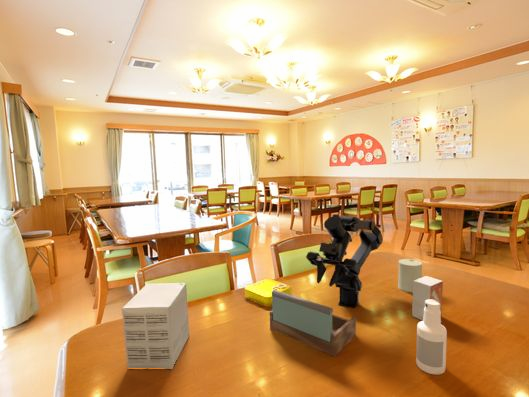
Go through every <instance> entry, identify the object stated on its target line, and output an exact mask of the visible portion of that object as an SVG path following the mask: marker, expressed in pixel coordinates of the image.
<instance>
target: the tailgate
mask: <svg viewBox="0 0 529 397" xmlns="http://www.w3.org/2000/svg"><path fill="white" fill-rule="evenodd" d="M271 294H272V302H273V306H272V310H273V320H275V321H278V322H280V323H283V324H285V325H288V326H290V327H293V328H295V329H298V330H300V331H303V332H305V333H308V334H310V335H313V336H315V337H318V338H321V339H323V340H326V341H328V342H331V341H332V314H333V313H334V308H332V307H329V306H326V305H325V304H320V303H317V302H314V301H311V300H308V299H305V298H301V297H298V296H295V295H289V294H286V293H283V292H280V291H276V290H273V291H272V293H271Z"/></svg>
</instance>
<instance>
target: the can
mask: <svg viewBox="0 0 529 397" xmlns="http://www.w3.org/2000/svg"><path fill="white" fill-rule="evenodd" d="M422 269H423V262H422V261H420V260H417V259H413V258H401V259H399V260H398V283H397V284H398V285H397V288H398V289H399V290H401V291H403V292H405V293H411V294H413V281H414V280H417V279H419V278H422V277H423V276H422V274H423V270H422Z"/></svg>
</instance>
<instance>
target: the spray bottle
mask: <svg viewBox="0 0 529 397" xmlns="http://www.w3.org/2000/svg"><path fill="white" fill-rule="evenodd" d="M441 318H442V315H441V311H440V304H439V303H438V302H436V301H435V300H433V299H427V300H425V308H424V316H423V320H421V321H419V322H418V323H417V324H416V325H417V326H416V356H415V358H416V359H415V362H416V366H417V368H419V369H420V370H421V371H423V372H424V373H427V374H430V375H435V376H436V375H442V374H444V373H445V371H446V366H447V365H446V364H447V363H446V362H447V335H448V334H447V333H448V332H447V328H446V327H445V326H444V325H443V324H441V323H442V319H441Z"/></svg>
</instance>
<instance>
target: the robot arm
mask: <svg viewBox="0 0 529 397" xmlns="http://www.w3.org/2000/svg"><path fill="white" fill-rule="evenodd" d="M323 225H324V228H325V230H326V231H327V233H328V234H329V236H330V237H331V238H332V241H331V242H329V243H327V242H320V245H319V250H318V251H319V252H321V253H322V255H323V256H324V257H323V256H321V255H320V254H319V252H316V251H309V252H307V253H306V256H305V258H306V260H308V262H309V263H310V264H311V265H312V266H316V270H317V271H316V283H317V284H320V283H321V281H322V279H323V277H324V276H325V273H326V271H327V267H326V266H325V265H331V266H334V271H333V273H332V275H331V278H330V281H329V284H328V285H329V286H328V287H333V285H335V287H336V288H339V301H338V303H337V304H338V306H344V307H349V308H356V307H357V305H358V304H359V301H360V292H361V291H362V287H363V286H362V285H363V283H362V281H361V280H360V277H359V275H360V273H361V268H362V267H363V266H364V264H365V262H366V261H367V259H368V257H369V255H370V254H371V252H372V251H376V250H378V249H379V248H380V246H381V245H382V244H383V242H384V241H383V240H384V239H383V238H384V237H383V235H382V231H381V230H380V229H379V228H378V227H377V226H376V223H375V221H373V220H370V219H369V220H368V219H361V218H358V217H357V216H350V215H339V214H335V213H334V214H332V216H330V217H328V218H327V219H326V220H325V221H324V224H323ZM359 230H360V232H359ZM365 230H368V231H365ZM370 231H371V232H370ZM356 232H359V235H358V236H359V238H360V242H361V243H360V245H358V246H359V247H358V248H357V250H356V251H355V252H354V254H353V255H352V256H351V258H344V256H347V249H348V247H349V244H350V243H352V242H353V238H352V236H351V234H350V233H356Z"/></svg>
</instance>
